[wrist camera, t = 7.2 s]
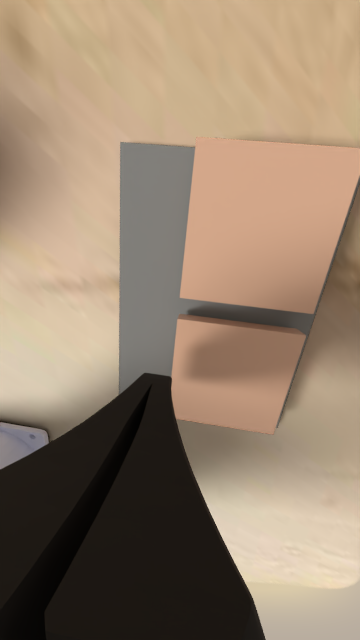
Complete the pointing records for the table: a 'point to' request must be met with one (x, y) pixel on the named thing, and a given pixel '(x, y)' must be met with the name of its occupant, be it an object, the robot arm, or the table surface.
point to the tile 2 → (265, 221)
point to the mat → (168, 263)
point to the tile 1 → (232, 372)
